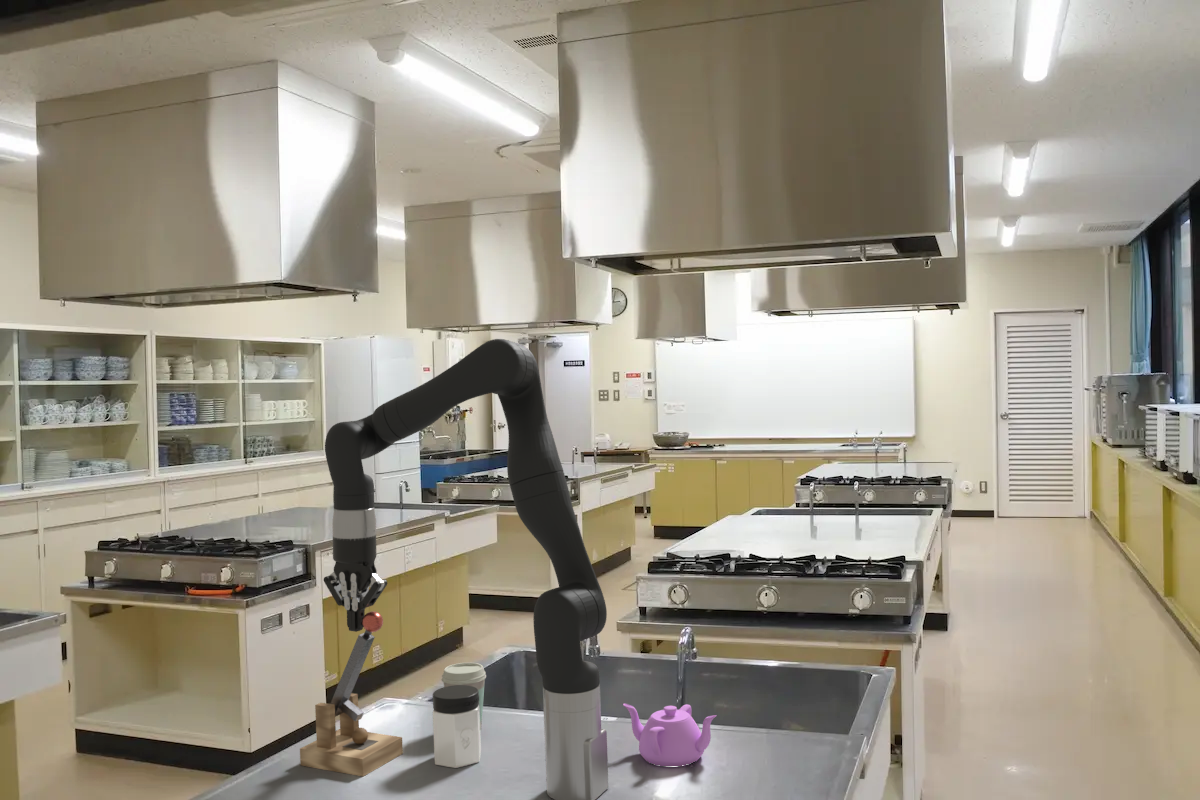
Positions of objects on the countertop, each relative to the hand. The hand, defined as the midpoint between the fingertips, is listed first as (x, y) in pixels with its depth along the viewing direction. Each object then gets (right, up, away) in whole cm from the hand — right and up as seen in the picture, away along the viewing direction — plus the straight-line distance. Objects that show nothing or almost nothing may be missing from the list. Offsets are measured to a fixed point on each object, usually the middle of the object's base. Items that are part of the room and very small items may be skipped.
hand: (355, 630), depth 175 cm
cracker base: (-1, -24, +1) cm, 24 cm away
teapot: (+56, -22, -3) cm, 60 cm away
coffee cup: (+18, -23, +15) cm, 32 cm away
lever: (-3, -16, +2) cm, 17 cm away
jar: (+18, -23, 0) cm, 29 cm away
